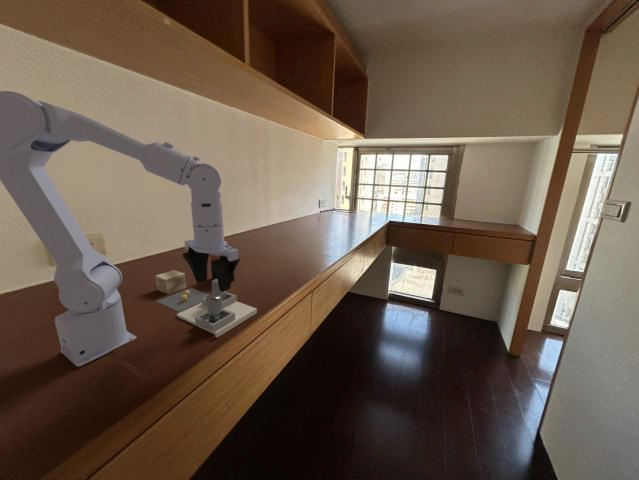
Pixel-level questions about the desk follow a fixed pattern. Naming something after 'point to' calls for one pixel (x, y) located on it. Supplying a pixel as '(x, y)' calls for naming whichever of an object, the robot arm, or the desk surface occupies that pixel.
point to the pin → (214, 308)
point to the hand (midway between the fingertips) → (213, 285)
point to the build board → (231, 313)
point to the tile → (183, 299)
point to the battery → (214, 269)
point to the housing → (171, 281)
